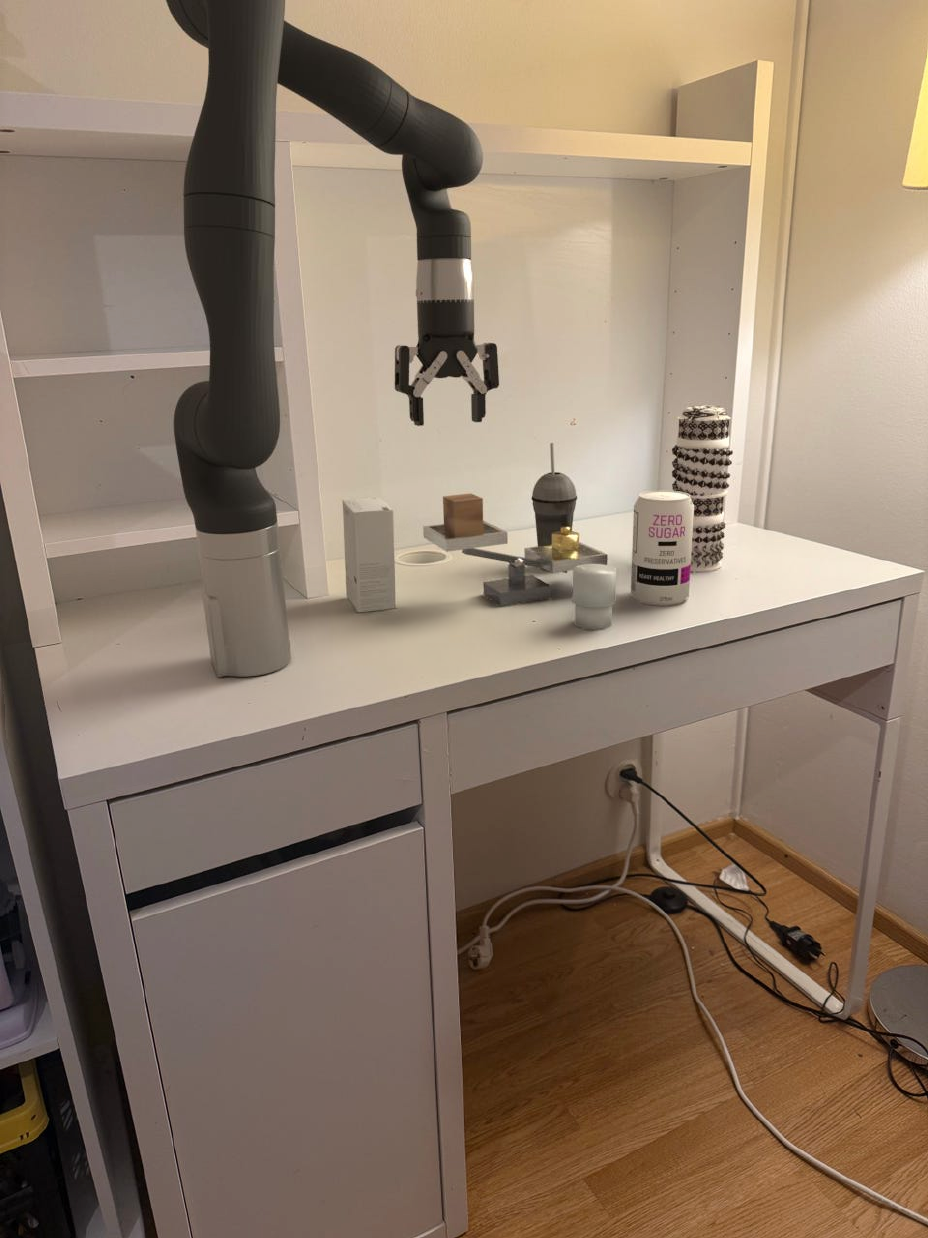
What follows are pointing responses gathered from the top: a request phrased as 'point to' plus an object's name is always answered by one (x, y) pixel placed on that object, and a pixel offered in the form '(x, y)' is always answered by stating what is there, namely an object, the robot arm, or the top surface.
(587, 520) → the top surface
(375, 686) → the top surface
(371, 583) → the skincare box
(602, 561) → the balance
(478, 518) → the walnut block
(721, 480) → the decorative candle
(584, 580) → the white stepped cylinder
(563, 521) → the beverage cup
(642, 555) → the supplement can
